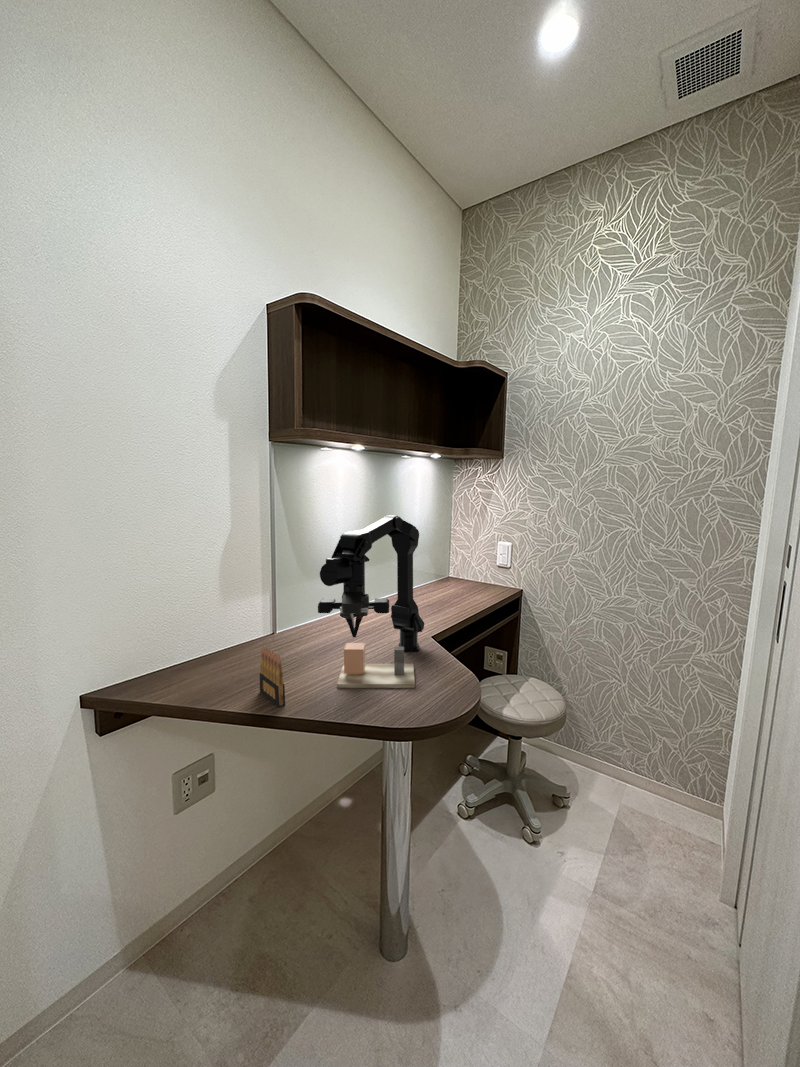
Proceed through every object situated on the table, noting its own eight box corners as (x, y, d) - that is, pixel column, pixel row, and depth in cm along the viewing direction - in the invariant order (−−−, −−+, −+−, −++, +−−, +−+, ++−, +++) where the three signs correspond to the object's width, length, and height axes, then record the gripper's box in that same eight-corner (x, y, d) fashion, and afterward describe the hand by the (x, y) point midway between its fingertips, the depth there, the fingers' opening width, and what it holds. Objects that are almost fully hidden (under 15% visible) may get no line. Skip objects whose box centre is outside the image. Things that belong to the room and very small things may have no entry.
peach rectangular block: (346, 666, 127) (346, 642, 126) (365, 666, 127) (365, 643, 126) (344, 673, 121) (343, 649, 121) (363, 673, 121) (363, 649, 121)
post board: (343, 667, 131) (343, 639, 130) (413, 667, 131) (413, 639, 130) (337, 687, 117) (336, 657, 116) (414, 687, 117) (414, 657, 116)
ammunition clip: (259, 692, 115) (258, 645, 114) (266, 690, 116) (265, 644, 115) (278, 707, 107) (276, 657, 105) (285, 705, 108) (284, 655, 107)
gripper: (313, 585, 114) (314, 646, 115) (388, 586, 114) (388, 647, 115) (321, 577, 125) (321, 633, 126) (389, 577, 125) (389, 633, 126)
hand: (354, 636), depth 123 cm, fingers closed
